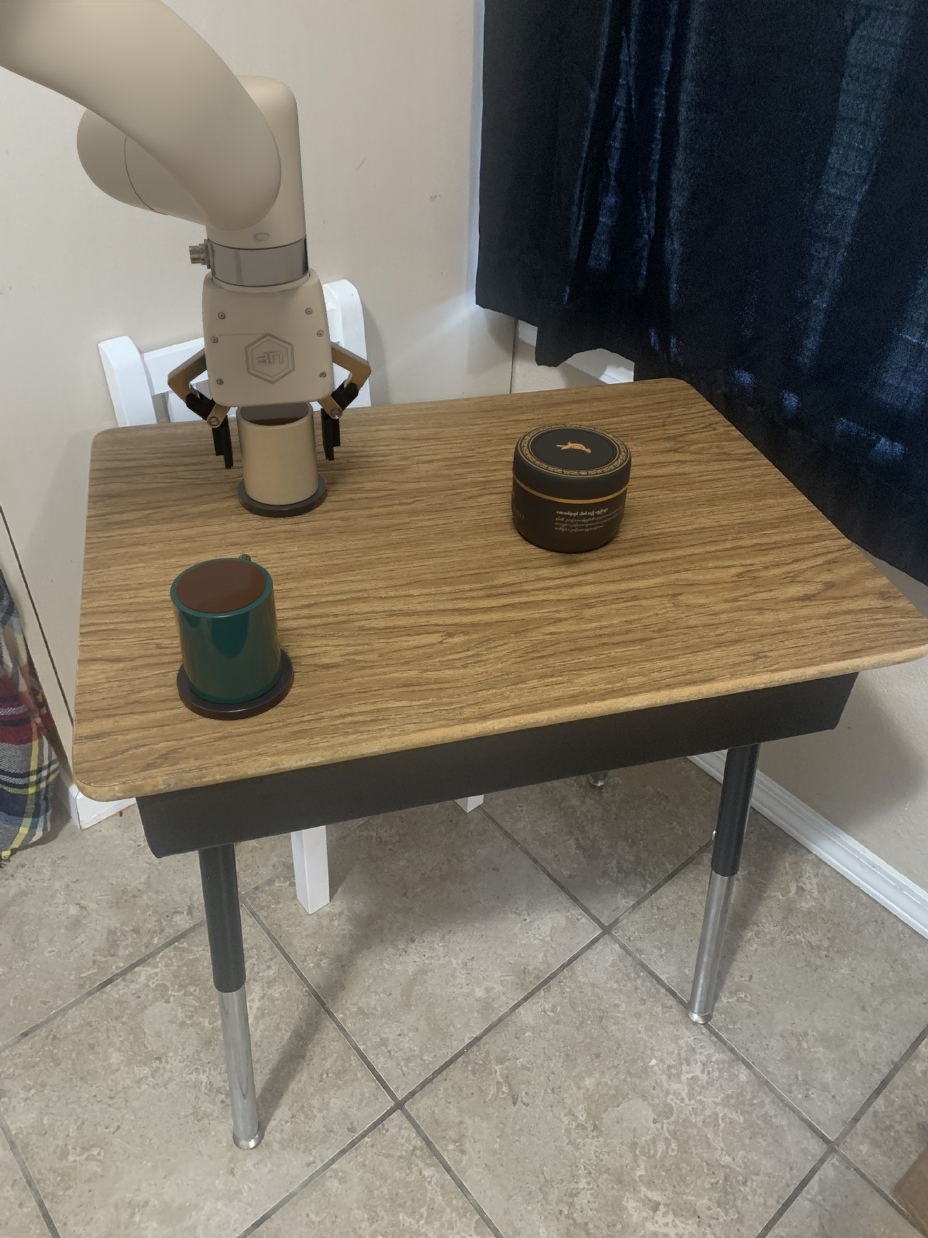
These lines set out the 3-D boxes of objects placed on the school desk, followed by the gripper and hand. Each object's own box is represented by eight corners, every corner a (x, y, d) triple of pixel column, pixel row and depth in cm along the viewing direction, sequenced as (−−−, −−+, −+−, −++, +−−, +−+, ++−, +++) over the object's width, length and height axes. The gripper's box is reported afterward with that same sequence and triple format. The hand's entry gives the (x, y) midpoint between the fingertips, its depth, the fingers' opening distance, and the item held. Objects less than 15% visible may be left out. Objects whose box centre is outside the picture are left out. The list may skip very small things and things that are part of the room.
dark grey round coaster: (239, 521, 85) (238, 513, 85) (236, 475, 91) (235, 468, 91) (331, 513, 87) (330, 505, 86) (322, 468, 93) (321, 461, 92)
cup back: (322, 501, 87) (316, 424, 82) (246, 508, 86) (236, 430, 81) (312, 451, 94) (306, 377, 89) (242, 456, 93) (233, 382, 88)
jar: (498, 499, 89) (503, 423, 85) (604, 492, 91) (614, 417, 86) (521, 561, 82) (527, 482, 77) (636, 553, 83) (649, 474, 78)
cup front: (271, 707, 66) (260, 619, 61) (174, 701, 66) (156, 613, 61) (297, 621, 73) (289, 537, 69) (210, 616, 73) (196, 531, 69)
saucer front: (177, 727, 65) (175, 718, 65) (178, 651, 71) (176, 643, 71) (297, 712, 67) (297, 703, 66) (289, 639, 73) (288, 630, 72)
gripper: (141, 280, 72) (178, 487, 82) (377, 269, 75) (382, 470, 86) (145, 247, 77) (179, 445, 88) (364, 238, 81) (370, 430, 91)
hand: (279, 456), depth 87 cm, fingers open, 8 cm apart
